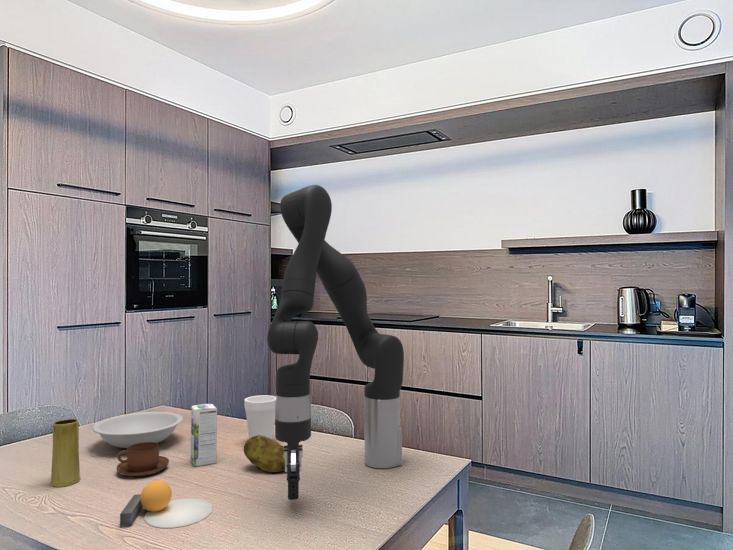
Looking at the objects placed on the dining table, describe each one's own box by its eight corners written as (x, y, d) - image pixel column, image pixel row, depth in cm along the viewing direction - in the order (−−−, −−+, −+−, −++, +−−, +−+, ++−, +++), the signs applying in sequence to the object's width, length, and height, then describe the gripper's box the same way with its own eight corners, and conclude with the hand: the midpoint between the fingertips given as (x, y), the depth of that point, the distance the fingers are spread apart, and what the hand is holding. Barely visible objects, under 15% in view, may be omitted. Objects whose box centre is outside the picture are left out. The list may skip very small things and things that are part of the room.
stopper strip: (144, 506, 108) (144, 494, 108) (131, 526, 99) (131, 513, 99) (134, 506, 108) (134, 494, 108) (120, 527, 99) (120, 513, 99)
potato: (277, 479, 122) (277, 446, 122) (238, 469, 129) (238, 437, 129) (299, 468, 129) (299, 436, 129) (260, 459, 136) (260, 429, 136)
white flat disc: (216, 497, 112) (216, 496, 112) (207, 525, 99) (207, 524, 99) (154, 501, 110) (154, 500, 110) (136, 530, 97) (136, 529, 97)
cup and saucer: (115, 483, 120) (115, 457, 120) (117, 467, 131) (117, 442, 132) (170, 476, 125) (170, 450, 125) (167, 460, 136) (167, 437, 136)
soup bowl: (200, 440, 153) (200, 418, 153) (124, 465, 132) (125, 439, 133) (150, 428, 166) (150, 407, 166) (74, 449, 145) (74, 425, 145)
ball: (141, 487, 109) (158, 509, 109) (129, 499, 103) (147, 523, 103) (164, 470, 109) (181, 492, 109) (154, 481, 103) (171, 504, 103)
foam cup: (238, 443, 150) (238, 398, 150) (266, 436, 156) (266, 393, 156) (255, 451, 143) (255, 404, 143) (283, 444, 149) (283, 399, 149)
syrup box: (189, 460, 135) (189, 405, 136) (212, 456, 138) (212, 402, 138) (194, 467, 130) (194, 410, 131) (217, 463, 133) (217, 407, 133)
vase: (86, 479, 123) (86, 419, 123) (63, 488, 117) (64, 426, 117) (67, 475, 125) (67, 417, 125) (44, 485, 119) (44, 423, 119)
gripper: (312, 423, 102) (312, 510, 102) (309, 407, 115) (310, 484, 115) (274, 425, 101) (274, 513, 101) (275, 408, 114) (276, 486, 114)
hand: (293, 498), depth 108 cm, fingers closed
